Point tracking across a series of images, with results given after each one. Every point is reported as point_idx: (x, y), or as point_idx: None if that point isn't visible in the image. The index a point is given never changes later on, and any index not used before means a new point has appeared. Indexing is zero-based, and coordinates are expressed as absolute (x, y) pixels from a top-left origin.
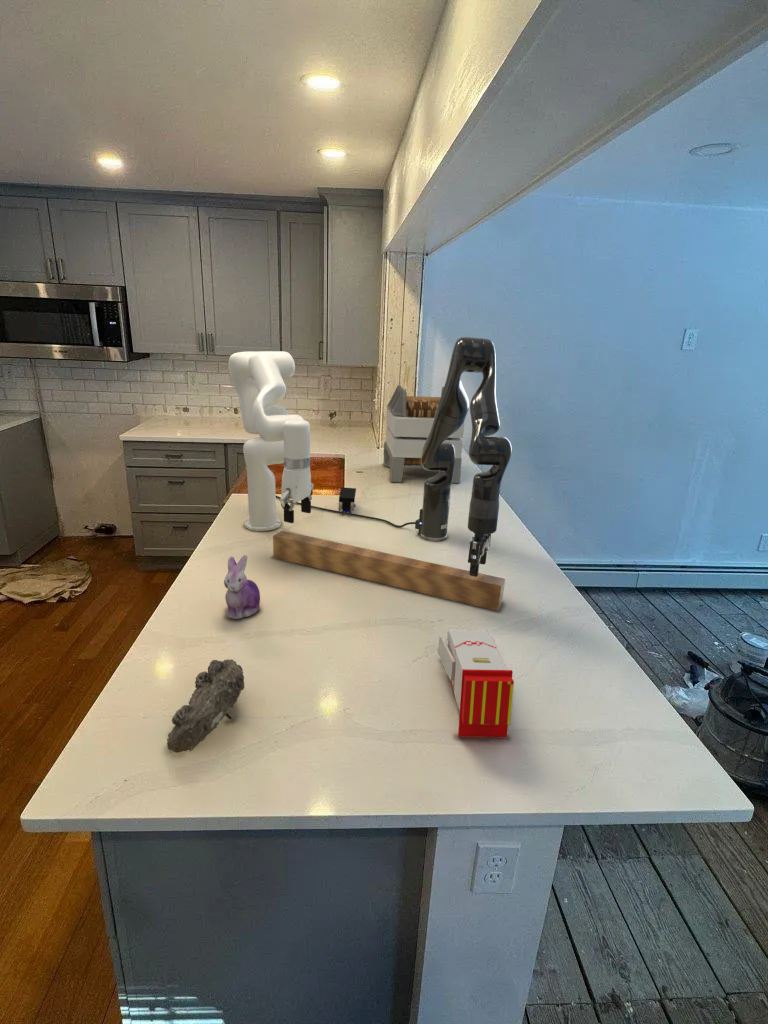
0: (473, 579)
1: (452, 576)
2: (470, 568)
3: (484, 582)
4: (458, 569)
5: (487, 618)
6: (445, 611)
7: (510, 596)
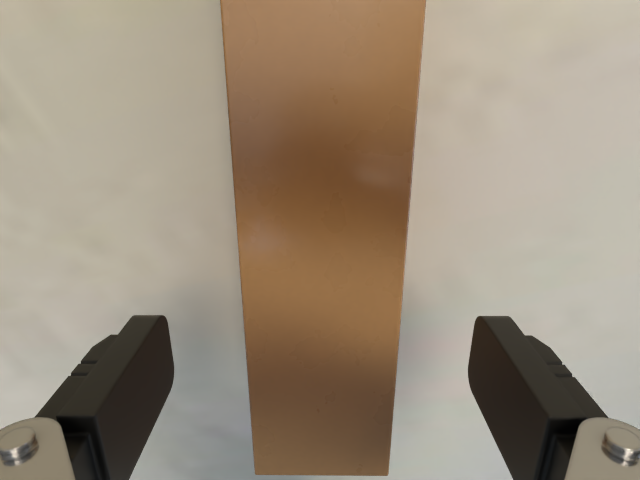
0: (250, 293)
1: (227, 94)
2: (103, 363)
3: (248, 374)
4: (393, 110)
5: (177, 324)
6: (107, 102)
7: (463, 372)
